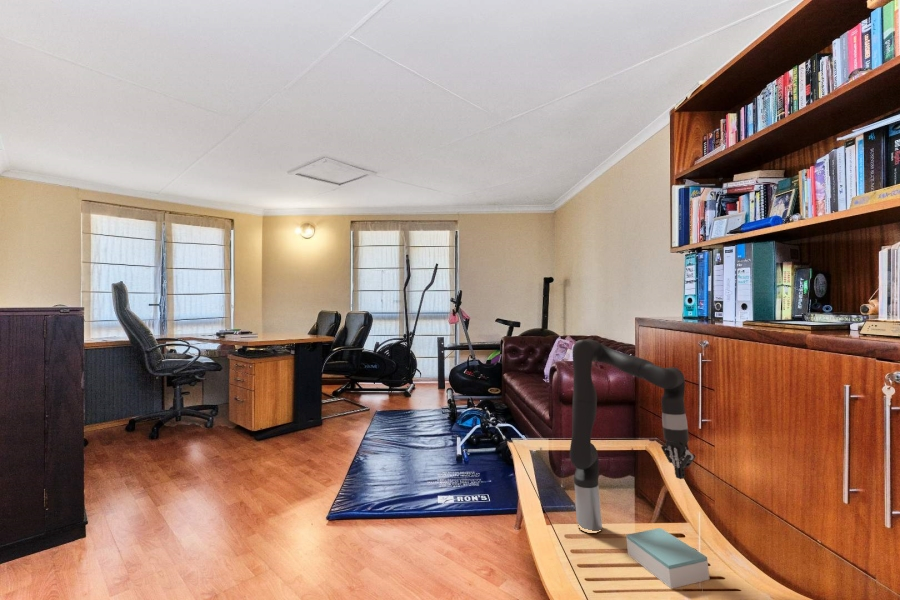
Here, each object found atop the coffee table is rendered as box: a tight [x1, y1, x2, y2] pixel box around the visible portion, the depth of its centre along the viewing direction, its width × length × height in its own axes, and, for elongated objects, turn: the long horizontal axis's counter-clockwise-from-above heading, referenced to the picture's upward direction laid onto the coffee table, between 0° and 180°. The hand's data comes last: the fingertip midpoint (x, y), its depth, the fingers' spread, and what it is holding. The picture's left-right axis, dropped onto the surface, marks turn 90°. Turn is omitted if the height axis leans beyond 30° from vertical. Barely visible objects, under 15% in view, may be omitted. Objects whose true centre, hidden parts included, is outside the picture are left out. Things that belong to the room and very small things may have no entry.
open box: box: [626, 537, 710, 589], centre depth 130 cm, size 20×14×6 cm
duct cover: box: [625, 527, 708, 569], centre depth 130 cm, size 20×14×1 cm
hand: (680, 478), depth 134 cm, fingers closed
